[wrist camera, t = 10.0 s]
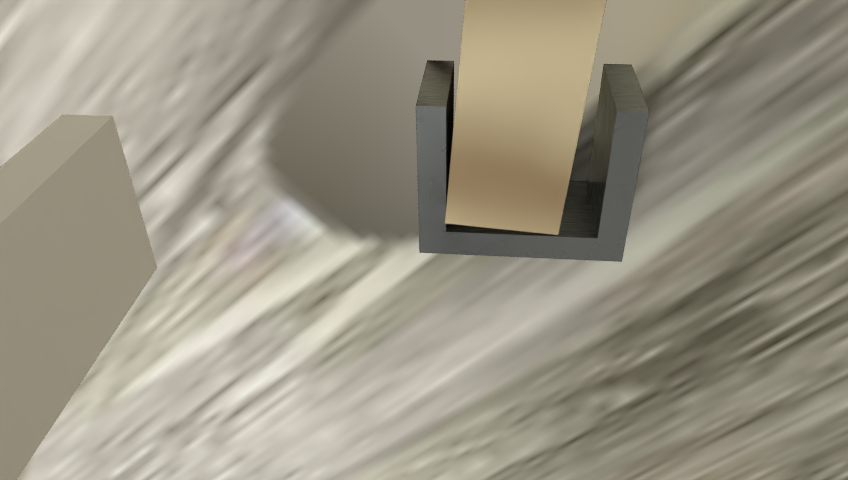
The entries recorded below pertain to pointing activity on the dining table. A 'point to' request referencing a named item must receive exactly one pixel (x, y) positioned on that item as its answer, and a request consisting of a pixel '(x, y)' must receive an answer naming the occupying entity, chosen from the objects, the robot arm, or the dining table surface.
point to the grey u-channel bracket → (585, 201)
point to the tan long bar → (519, 110)
